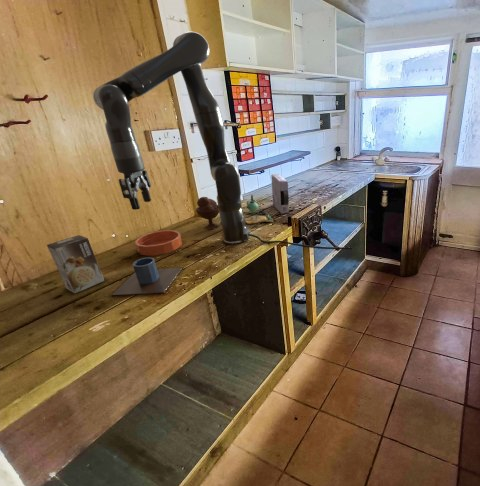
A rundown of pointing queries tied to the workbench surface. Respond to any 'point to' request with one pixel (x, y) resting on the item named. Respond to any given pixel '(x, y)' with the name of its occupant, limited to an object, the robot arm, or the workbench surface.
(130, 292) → the walnut mat
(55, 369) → the workbench surface
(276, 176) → the cake pan box
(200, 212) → the ice cream bowl
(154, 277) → the blue cup
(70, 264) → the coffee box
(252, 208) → the frog figurine
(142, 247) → the terracotta bowl
